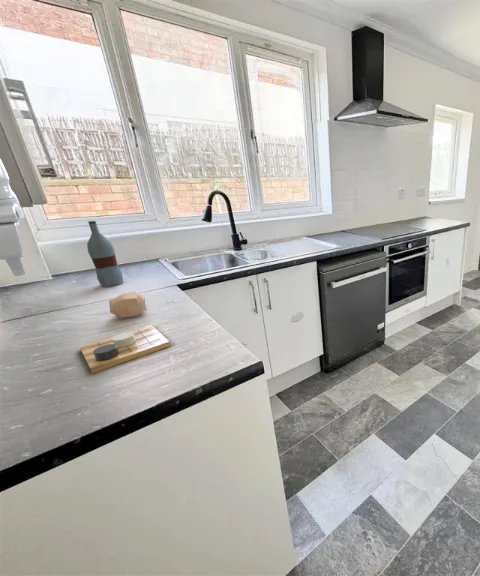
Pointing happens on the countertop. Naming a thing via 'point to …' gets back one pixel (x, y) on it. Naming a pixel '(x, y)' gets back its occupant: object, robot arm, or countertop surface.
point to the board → (126, 348)
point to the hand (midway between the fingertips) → (18, 271)
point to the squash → (127, 305)
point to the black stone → (106, 352)
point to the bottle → (103, 258)
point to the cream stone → (124, 339)
